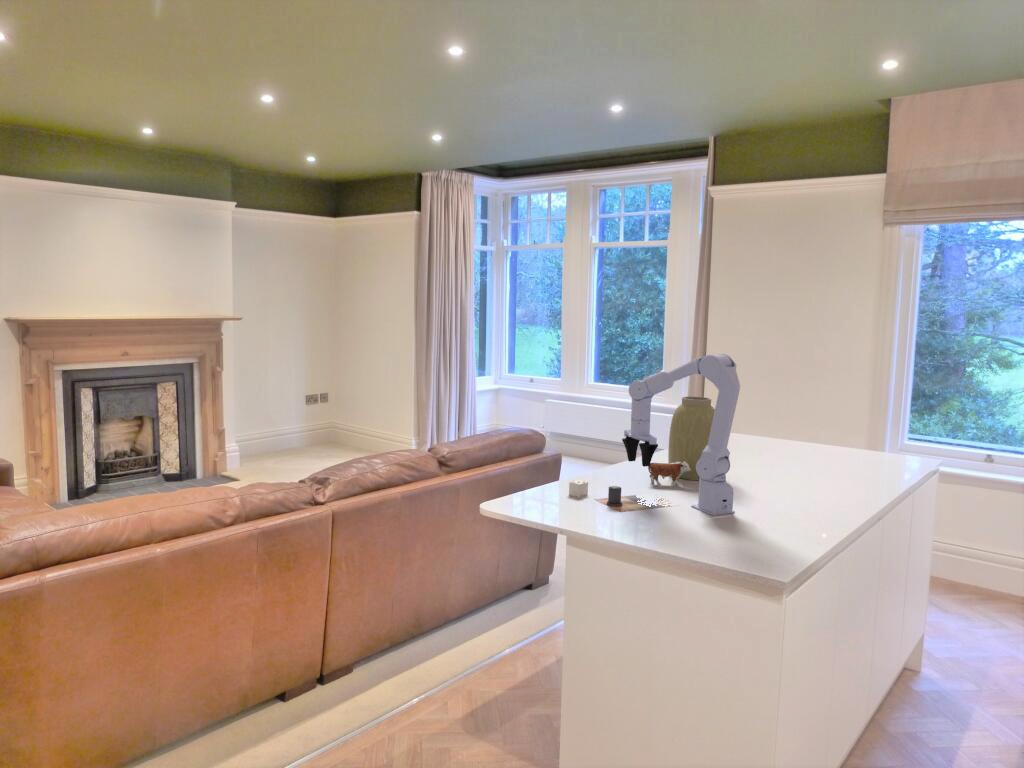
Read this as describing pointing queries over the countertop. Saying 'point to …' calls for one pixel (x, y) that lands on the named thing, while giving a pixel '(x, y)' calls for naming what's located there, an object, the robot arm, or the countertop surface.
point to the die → (578, 488)
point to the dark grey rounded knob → (614, 496)
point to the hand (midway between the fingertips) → (638, 463)
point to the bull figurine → (667, 471)
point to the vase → (690, 433)
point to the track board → (632, 504)
